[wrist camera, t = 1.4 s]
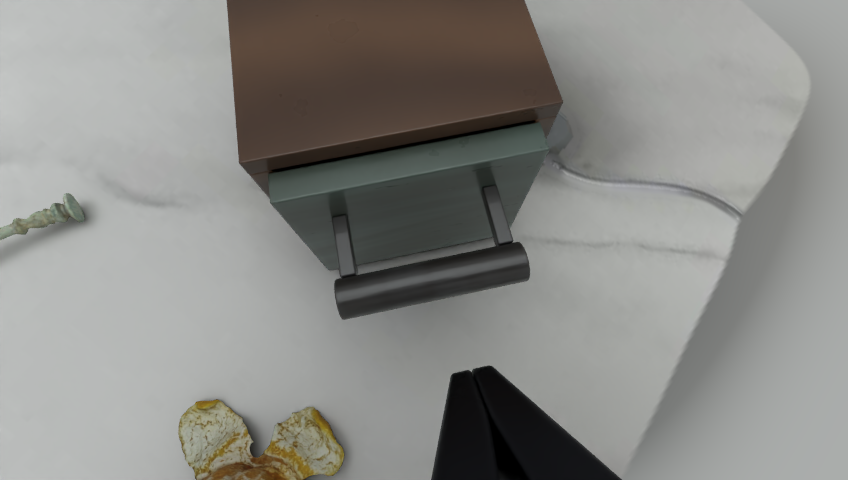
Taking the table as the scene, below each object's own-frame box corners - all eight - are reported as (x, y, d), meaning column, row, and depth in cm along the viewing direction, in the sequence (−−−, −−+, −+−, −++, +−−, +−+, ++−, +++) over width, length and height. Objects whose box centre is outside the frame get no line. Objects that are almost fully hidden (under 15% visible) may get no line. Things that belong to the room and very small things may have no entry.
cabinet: (509, 218, 25) (563, 101, 15) (318, 257, 24) (238, 163, 14) (455, 37, 29) (468, -148, 19) (292, 66, 28) (218, -110, 18)
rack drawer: (528, 304, 22) (587, 253, 14) (339, 345, 21) (280, 318, 13) (454, 55, 27) (466, -90, 19) (302, 83, 27) (244, -54, 18)
